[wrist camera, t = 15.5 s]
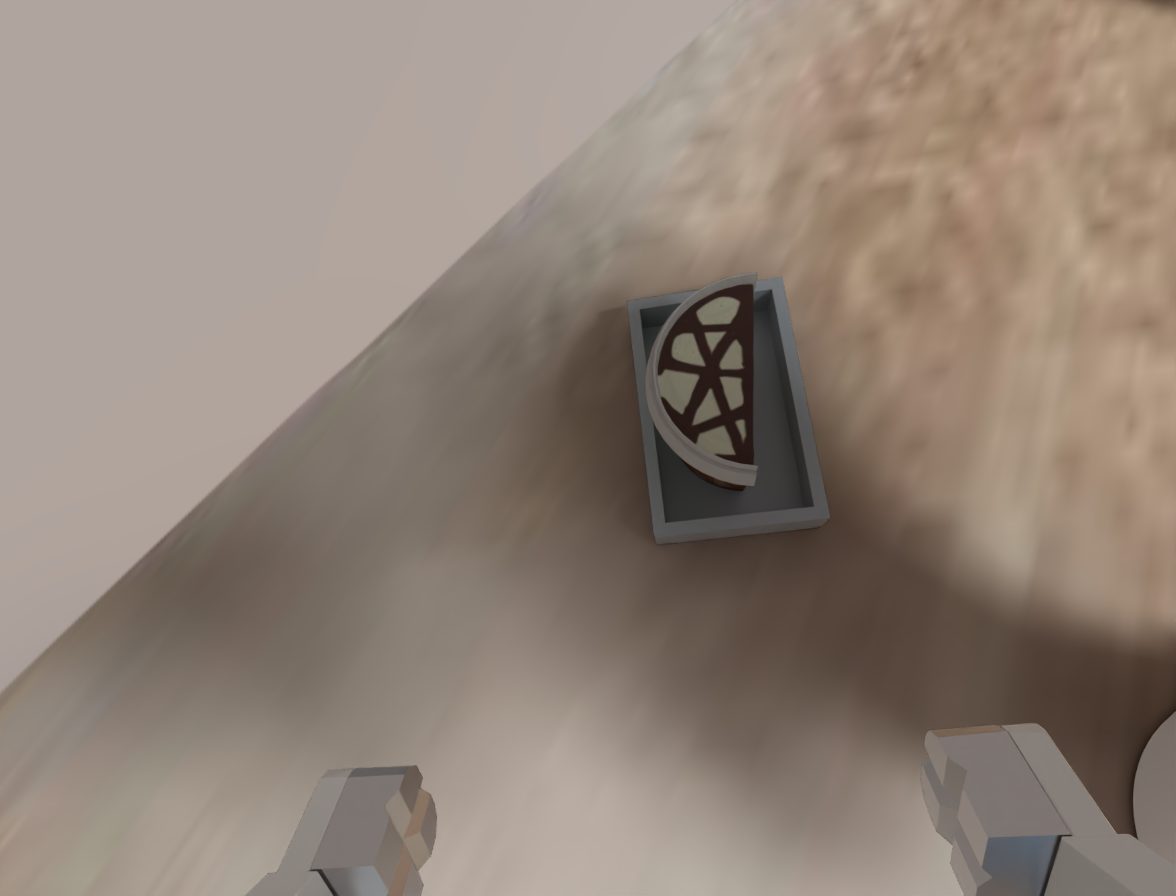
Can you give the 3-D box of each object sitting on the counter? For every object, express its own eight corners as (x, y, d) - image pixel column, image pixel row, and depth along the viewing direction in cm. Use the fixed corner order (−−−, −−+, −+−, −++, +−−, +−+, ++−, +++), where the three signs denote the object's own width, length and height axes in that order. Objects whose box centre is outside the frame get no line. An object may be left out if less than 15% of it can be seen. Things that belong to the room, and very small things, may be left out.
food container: (656, 342, 46) (647, 266, 36) (743, 342, 45) (757, 263, 35) (649, 509, 43) (636, 473, 33) (742, 513, 41) (758, 477, 32)
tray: (775, 302, 46) (782, 276, 43) (819, 527, 41) (830, 518, 38) (631, 324, 47) (626, 300, 44) (656, 544, 42) (654, 537, 39)
